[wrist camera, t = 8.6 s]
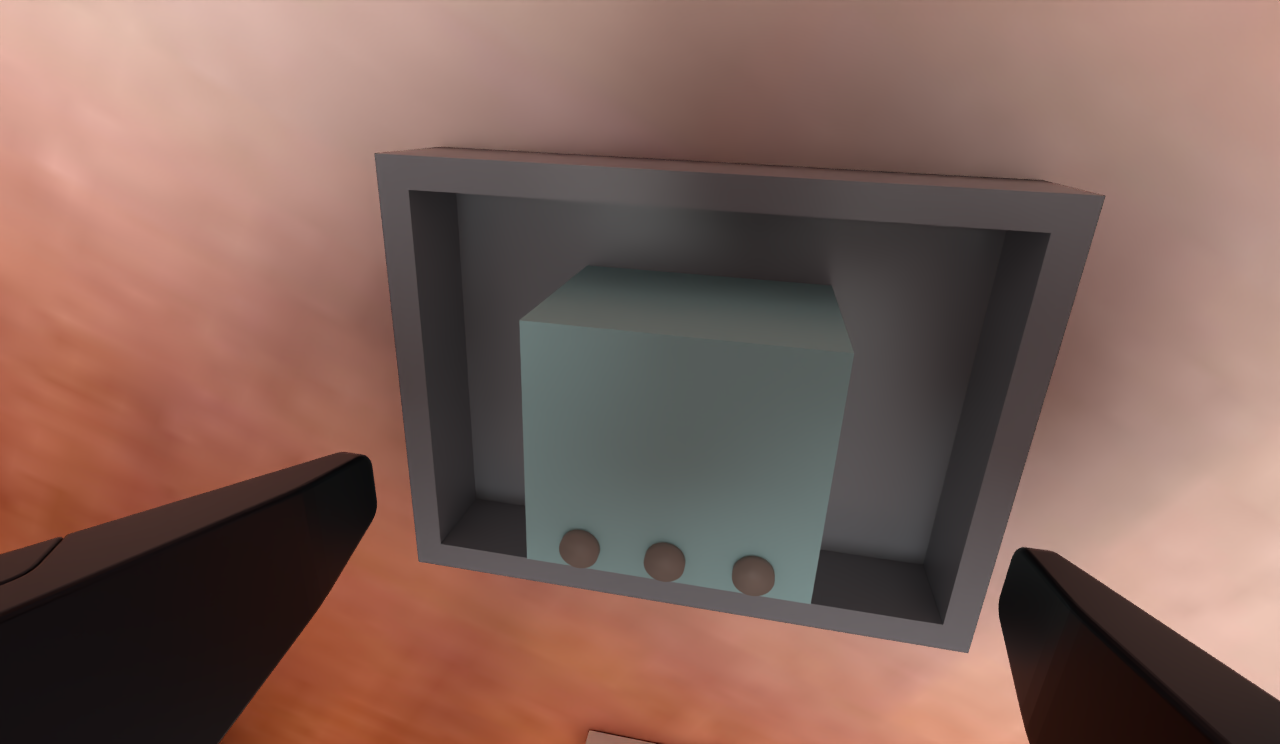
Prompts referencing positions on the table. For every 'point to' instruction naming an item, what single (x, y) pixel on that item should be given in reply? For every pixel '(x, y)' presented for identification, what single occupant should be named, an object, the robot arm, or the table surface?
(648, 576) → the stub
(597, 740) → the pad
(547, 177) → the tray
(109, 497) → the table surface
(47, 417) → the table surface
